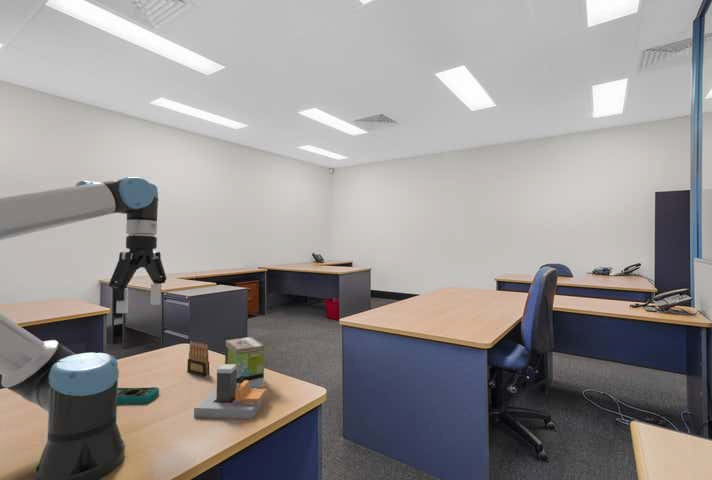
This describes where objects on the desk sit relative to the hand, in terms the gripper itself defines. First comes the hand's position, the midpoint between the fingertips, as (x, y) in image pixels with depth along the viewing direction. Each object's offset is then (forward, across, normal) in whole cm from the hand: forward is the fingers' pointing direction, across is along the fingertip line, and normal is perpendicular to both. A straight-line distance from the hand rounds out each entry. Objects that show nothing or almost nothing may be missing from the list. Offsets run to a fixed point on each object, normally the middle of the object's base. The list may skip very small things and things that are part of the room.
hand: (139, 308), depth 95 cm
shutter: (+28, +7, -31) cm, 42 cm away
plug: (+31, +7, -23) cm, 39 cm away
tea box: (+31, +24, -21) cm, 45 cm away
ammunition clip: (+31, +33, 0) cm, 45 cm away
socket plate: (+31, +7, -25) cm, 40 cm away
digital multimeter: (+31, +10, +10) cm, 35 cm away
